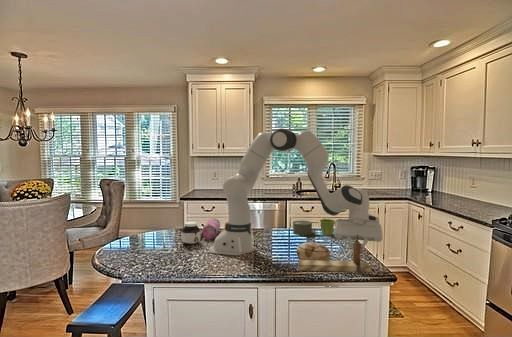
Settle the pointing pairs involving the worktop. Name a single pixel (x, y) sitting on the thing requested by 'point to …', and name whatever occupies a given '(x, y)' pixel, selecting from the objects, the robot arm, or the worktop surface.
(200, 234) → the pencil case cradle
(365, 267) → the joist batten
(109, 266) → the worktop surface
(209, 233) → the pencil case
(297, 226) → the can
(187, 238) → the spread jar
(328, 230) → the plant pot
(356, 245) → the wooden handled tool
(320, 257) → the trinket box
